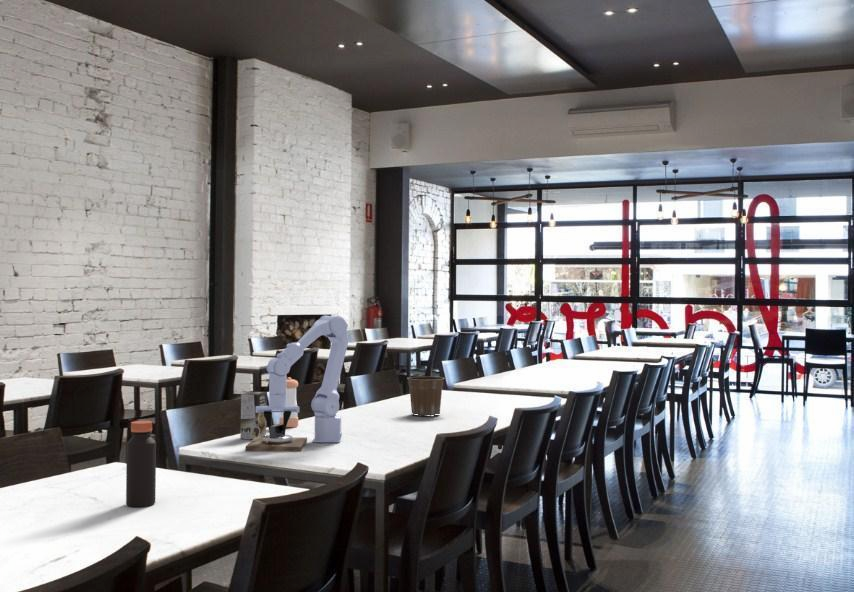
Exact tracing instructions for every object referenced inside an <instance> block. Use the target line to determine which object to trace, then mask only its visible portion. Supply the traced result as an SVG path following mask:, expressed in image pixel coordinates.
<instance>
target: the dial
mask: <svg viewBox="0 0 854 592" xmlns="http://www.w3.org/2000/svg"><path fill="white" fill-rule="evenodd" d="M292 437H293V436H292V435H290V434H286V433H285V434H283V424H282V423H280V424H279V423H276V424H273V425H272V426H270V434H268V435H267V434H266V436H263V437H262V442H263V443H269V444H283V443H290V442H292Z"/></svg>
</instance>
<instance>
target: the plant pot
mask: <svg viewBox="0 0 854 592" xmlns="http://www.w3.org/2000/svg"><path fill="white" fill-rule="evenodd" d="M406 379H407V383H408V387H409V396H410V407H411V408H410V409H411V414H412V413H413V414H418V415H422V416H423V415H435V414H441V404H442V403H441V402H442V394H443V393H442V392H443V387H444V380H445V377H443V376H428V375H427V376H411V377H410V376H409V377H407V378H406Z"/></svg>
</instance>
